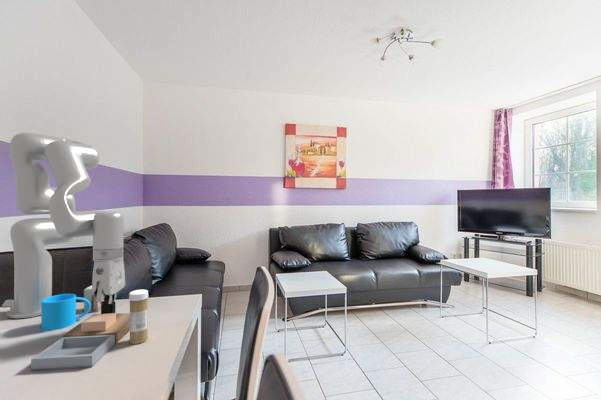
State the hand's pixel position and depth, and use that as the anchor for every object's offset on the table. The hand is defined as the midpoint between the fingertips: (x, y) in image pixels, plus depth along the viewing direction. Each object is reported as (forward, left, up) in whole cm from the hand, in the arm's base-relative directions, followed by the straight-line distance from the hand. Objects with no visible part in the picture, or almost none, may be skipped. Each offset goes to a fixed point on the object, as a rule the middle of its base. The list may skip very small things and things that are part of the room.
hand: (108, 316), depth 86 cm
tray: (0, -15, -4) cm, 15 cm away
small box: (-13, +18, -4) cm, 23 cm away
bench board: (0, -2, -4) cm, 5 cm away
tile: (0, -5, -1) cm, 5 cm away
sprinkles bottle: (+11, -8, -4) cm, 14 cm away
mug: (-15, +7, -4) cm, 17 cm away
